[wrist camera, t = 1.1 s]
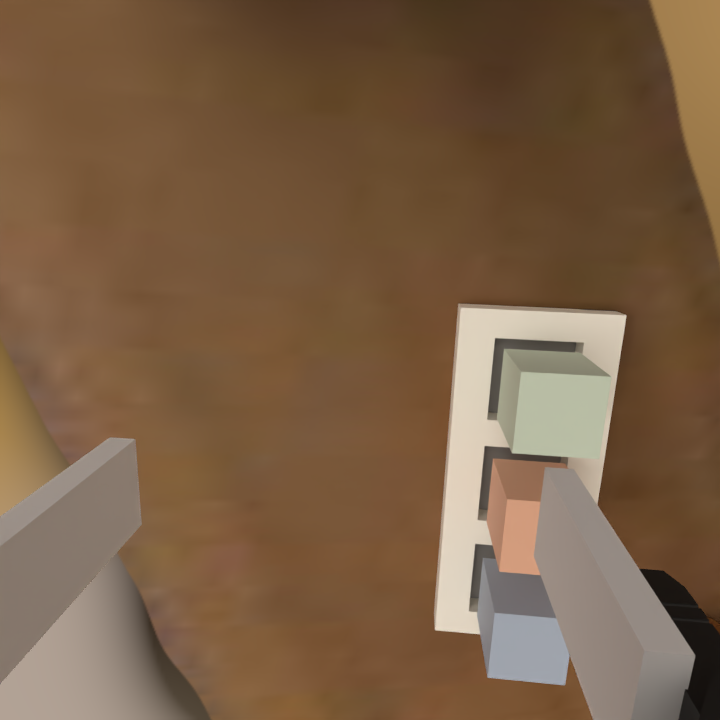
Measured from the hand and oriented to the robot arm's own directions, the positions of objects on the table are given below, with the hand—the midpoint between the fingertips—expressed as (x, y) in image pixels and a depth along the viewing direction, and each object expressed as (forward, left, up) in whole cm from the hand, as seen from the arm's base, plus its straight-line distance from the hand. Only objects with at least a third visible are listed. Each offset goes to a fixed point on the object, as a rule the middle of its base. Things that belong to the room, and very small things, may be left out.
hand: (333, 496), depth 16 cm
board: (+11, +11, -26) cm, 30 cm away
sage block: (+3, +11, -23) cm, 26 cm away
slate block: (+19, +11, -23) cm, 32 cm away
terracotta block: (+11, +11, -23) cm, 28 cm away
